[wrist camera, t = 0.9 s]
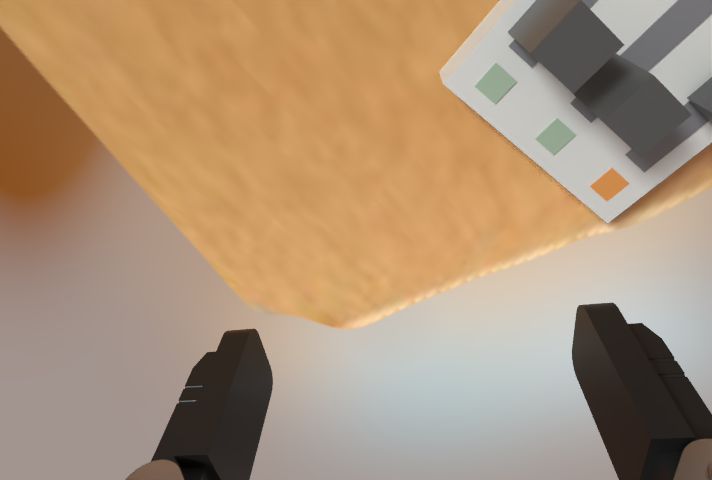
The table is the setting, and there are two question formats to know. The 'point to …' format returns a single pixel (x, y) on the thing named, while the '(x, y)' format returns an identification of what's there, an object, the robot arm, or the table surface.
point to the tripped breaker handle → (703, 99)
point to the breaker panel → (555, 99)
